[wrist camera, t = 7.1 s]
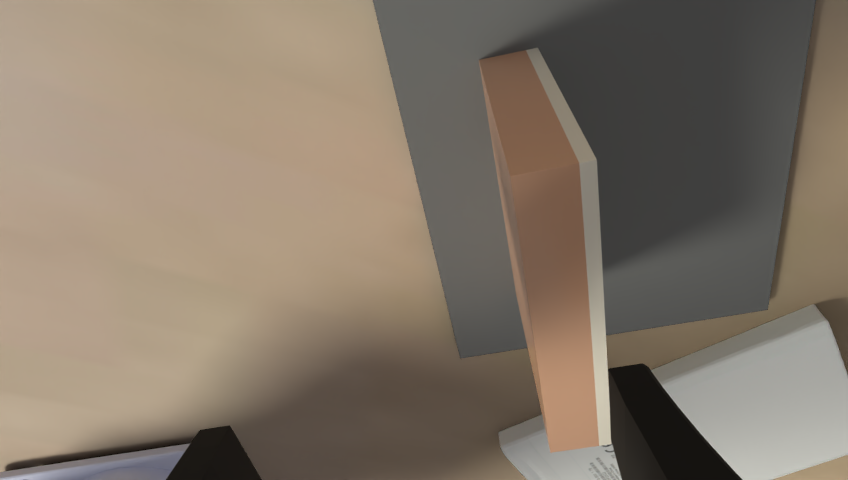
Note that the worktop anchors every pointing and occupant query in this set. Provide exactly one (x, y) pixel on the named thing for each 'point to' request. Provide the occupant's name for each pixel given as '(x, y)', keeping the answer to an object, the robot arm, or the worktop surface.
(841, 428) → the external hard drive
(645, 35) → the mat
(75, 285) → the worktop surface
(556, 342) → the tile
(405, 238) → the worktop surface
